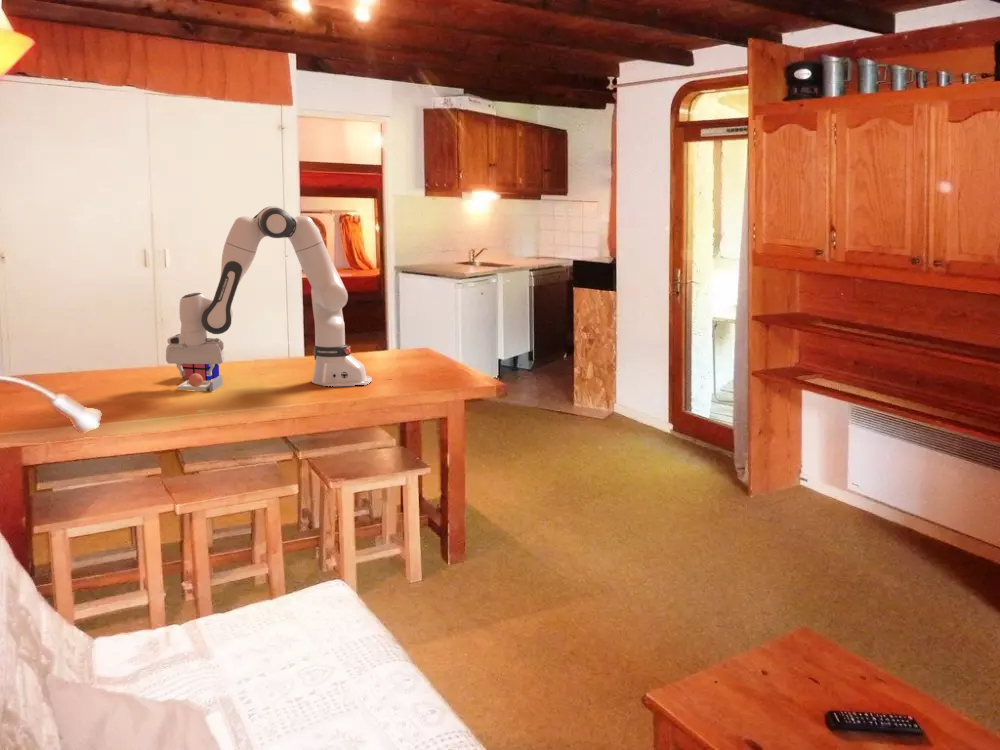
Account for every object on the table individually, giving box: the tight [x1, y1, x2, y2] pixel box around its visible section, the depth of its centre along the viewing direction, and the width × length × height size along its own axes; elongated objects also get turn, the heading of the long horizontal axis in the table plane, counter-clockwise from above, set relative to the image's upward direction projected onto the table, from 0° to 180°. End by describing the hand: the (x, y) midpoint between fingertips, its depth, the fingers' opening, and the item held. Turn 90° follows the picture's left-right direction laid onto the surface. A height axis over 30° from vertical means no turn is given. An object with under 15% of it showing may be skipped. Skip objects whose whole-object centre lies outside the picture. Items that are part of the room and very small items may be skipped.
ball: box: [189, 373, 203, 386], centre depth 324 cm, size 5×5×5 cm
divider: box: [209, 374, 223, 392], centre depth 324 cm, size 1×12×4 cm, turn 2°
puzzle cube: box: [181, 364, 220, 381], centre depth 340 cm, size 10×10×10 cm
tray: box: [177, 380, 212, 392], centre depth 324 cm, size 10×10×2 cm
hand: (196, 375), depth 324 cm, fingers open, 8 cm apart
